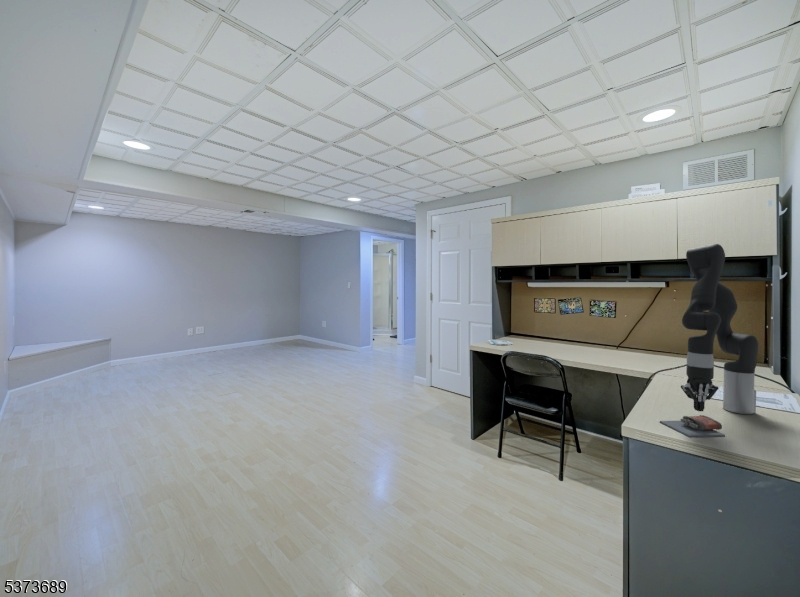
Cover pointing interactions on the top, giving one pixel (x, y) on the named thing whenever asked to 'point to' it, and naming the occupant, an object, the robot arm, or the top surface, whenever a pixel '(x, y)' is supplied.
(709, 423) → the lighter
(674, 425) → the mat
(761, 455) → the top surface
